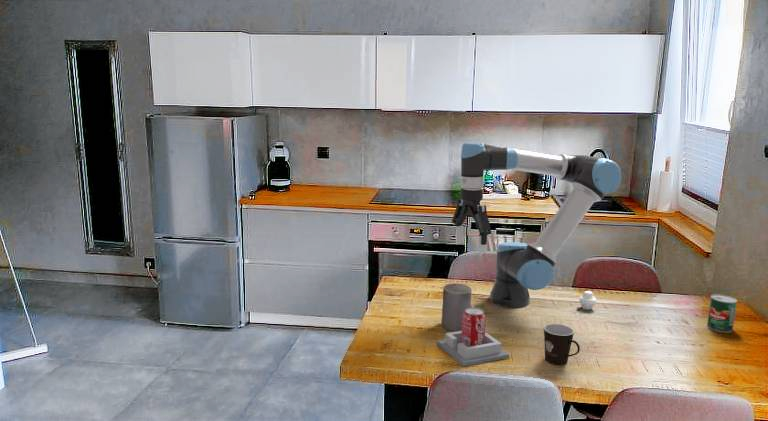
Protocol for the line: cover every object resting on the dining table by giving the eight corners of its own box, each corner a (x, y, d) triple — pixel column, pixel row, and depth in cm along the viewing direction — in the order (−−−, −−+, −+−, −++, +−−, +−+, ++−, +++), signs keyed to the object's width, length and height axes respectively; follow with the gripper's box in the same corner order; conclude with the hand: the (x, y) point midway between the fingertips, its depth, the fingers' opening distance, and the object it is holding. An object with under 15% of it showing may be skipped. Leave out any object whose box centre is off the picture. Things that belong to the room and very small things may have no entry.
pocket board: (480, 336, 185) (481, 325, 184) (508, 357, 171) (509, 344, 170) (437, 344, 179) (437, 332, 178) (463, 366, 165) (463, 353, 164)
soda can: (485, 344, 177) (487, 308, 174) (481, 353, 170) (484, 316, 168) (463, 340, 179) (465, 305, 177) (458, 350, 173) (460, 313, 170)
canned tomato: (731, 326, 198) (735, 296, 196) (734, 334, 191) (739, 303, 189) (705, 322, 201) (709, 292, 199) (707, 330, 194) (712, 299, 192)
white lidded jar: (597, 311, 209) (599, 293, 208) (581, 311, 209) (582, 293, 208) (592, 305, 215) (594, 288, 214) (576, 305, 215) (577, 287, 214)
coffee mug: (537, 354, 173) (539, 324, 171) (564, 353, 174) (566, 323, 172) (551, 372, 162) (554, 340, 160) (580, 371, 163) (583, 339, 161)
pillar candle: (440, 319, 199) (442, 279, 196) (468, 320, 199) (470, 280, 195) (442, 331, 189) (444, 289, 186) (471, 332, 189) (473, 289, 186)
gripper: (442, 183, 200) (442, 241, 205) (484, 195, 178) (482, 259, 183) (460, 182, 203) (459, 239, 208) (503, 193, 181) (501, 256, 186)
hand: (470, 248), depth 195 cm, fingers open, 13 cm apart
